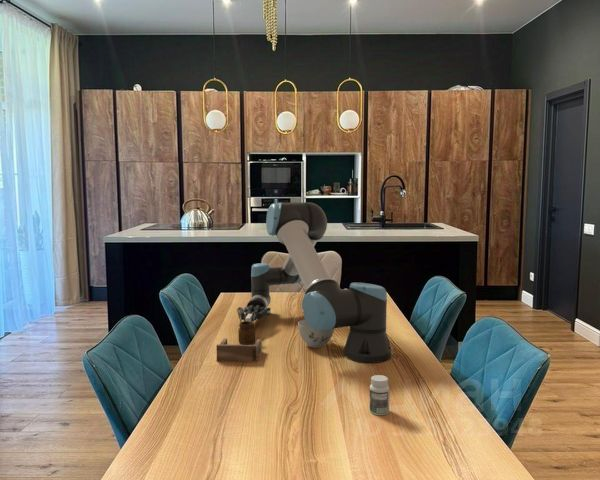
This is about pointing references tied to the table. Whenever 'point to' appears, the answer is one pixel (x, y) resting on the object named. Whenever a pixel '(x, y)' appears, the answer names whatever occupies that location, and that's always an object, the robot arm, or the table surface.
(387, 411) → the pill bottle
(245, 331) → the utensil holder
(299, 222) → the robot arm
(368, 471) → the table surface
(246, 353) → the walnut corral
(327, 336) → the teacup
